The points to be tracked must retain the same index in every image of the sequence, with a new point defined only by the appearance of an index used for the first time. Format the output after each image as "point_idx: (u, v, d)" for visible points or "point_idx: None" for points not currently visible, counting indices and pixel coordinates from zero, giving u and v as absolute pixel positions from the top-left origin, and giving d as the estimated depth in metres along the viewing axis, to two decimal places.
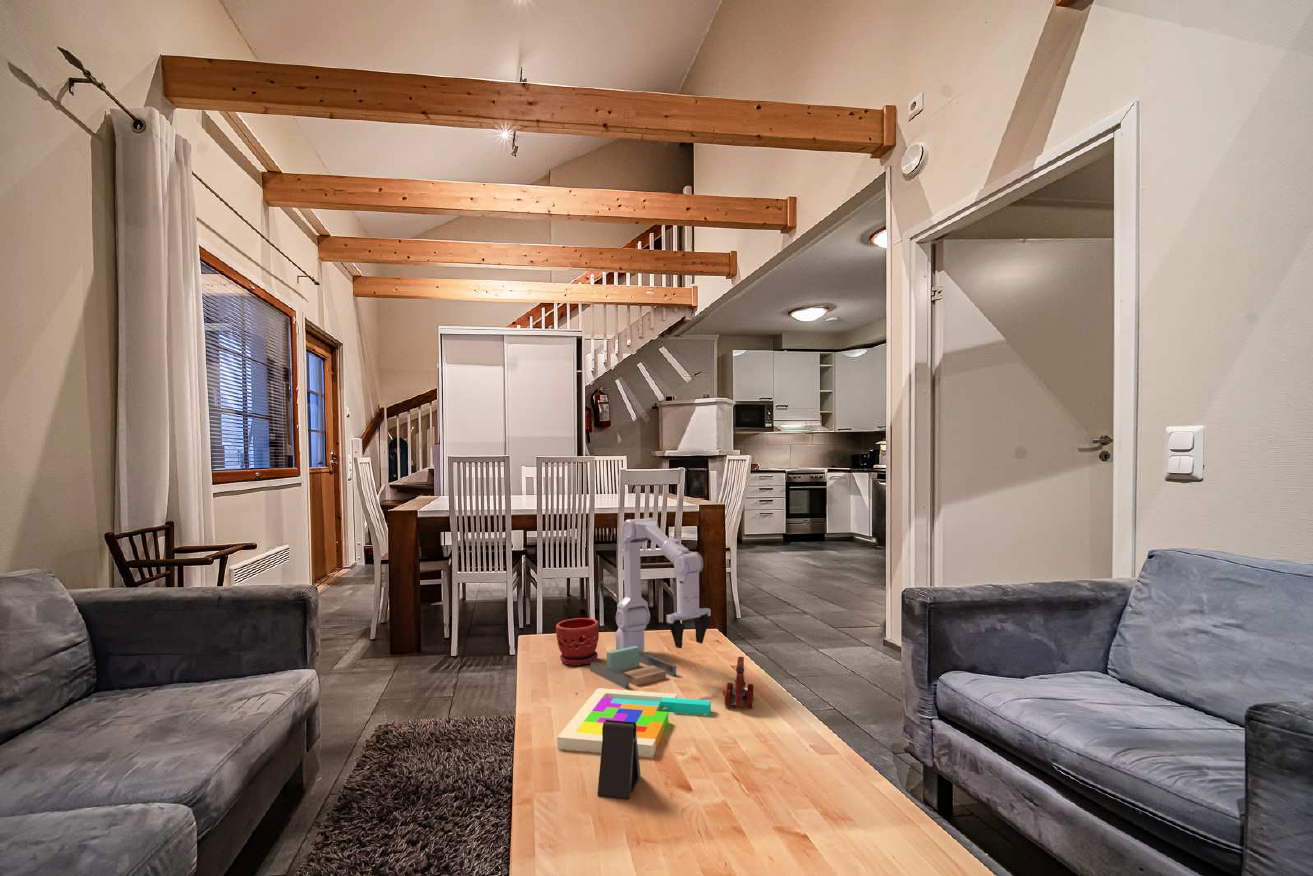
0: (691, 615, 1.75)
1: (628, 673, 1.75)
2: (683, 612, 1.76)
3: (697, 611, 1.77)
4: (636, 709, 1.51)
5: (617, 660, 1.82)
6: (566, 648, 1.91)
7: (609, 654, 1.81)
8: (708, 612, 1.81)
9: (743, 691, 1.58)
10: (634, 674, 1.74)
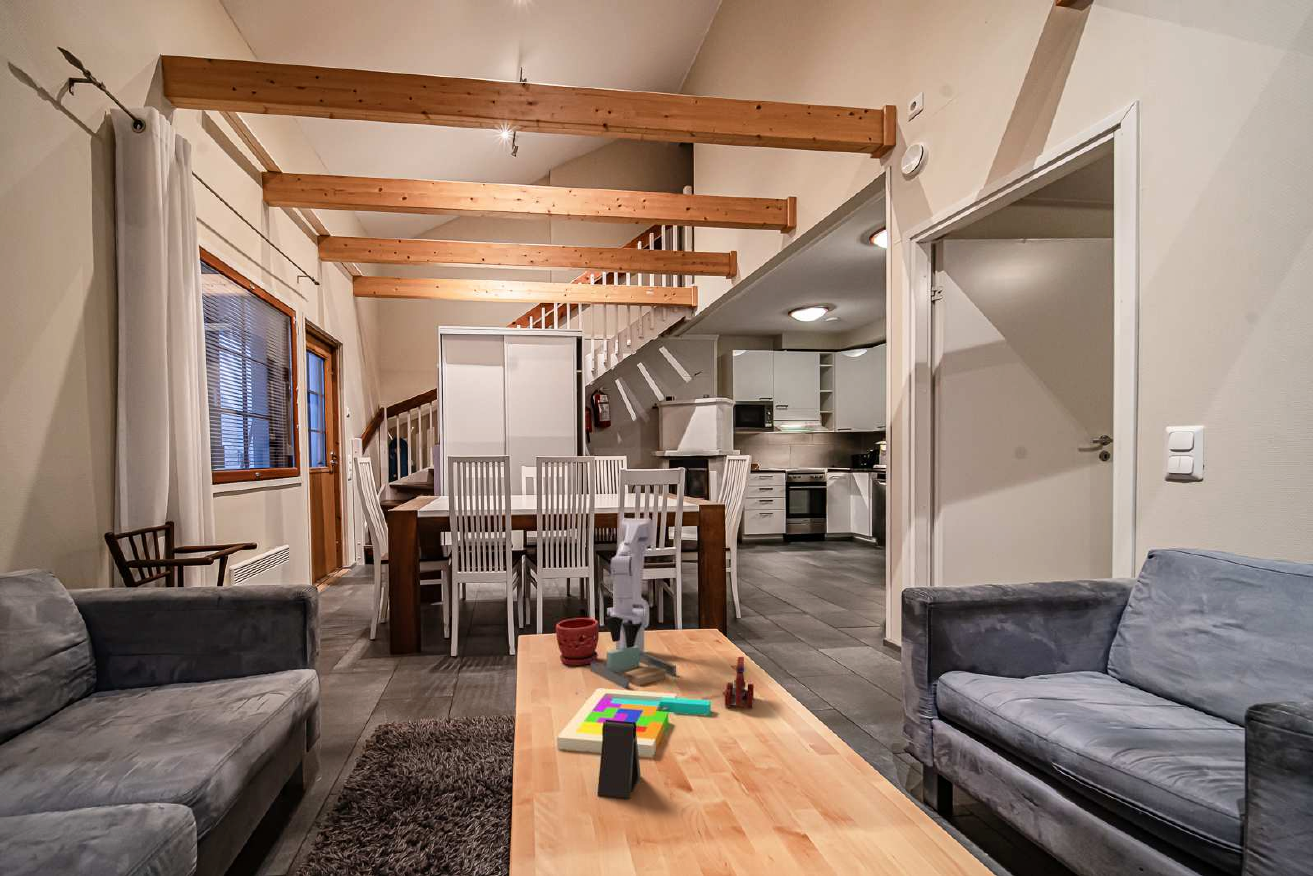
0: None
1: (630, 673, 1.74)
2: None
3: (616, 612, 1.83)
4: (636, 709, 1.51)
5: (617, 660, 1.82)
6: (566, 648, 1.91)
7: (609, 654, 1.81)
8: (632, 620, 1.79)
9: (743, 691, 1.58)
10: (635, 674, 1.74)
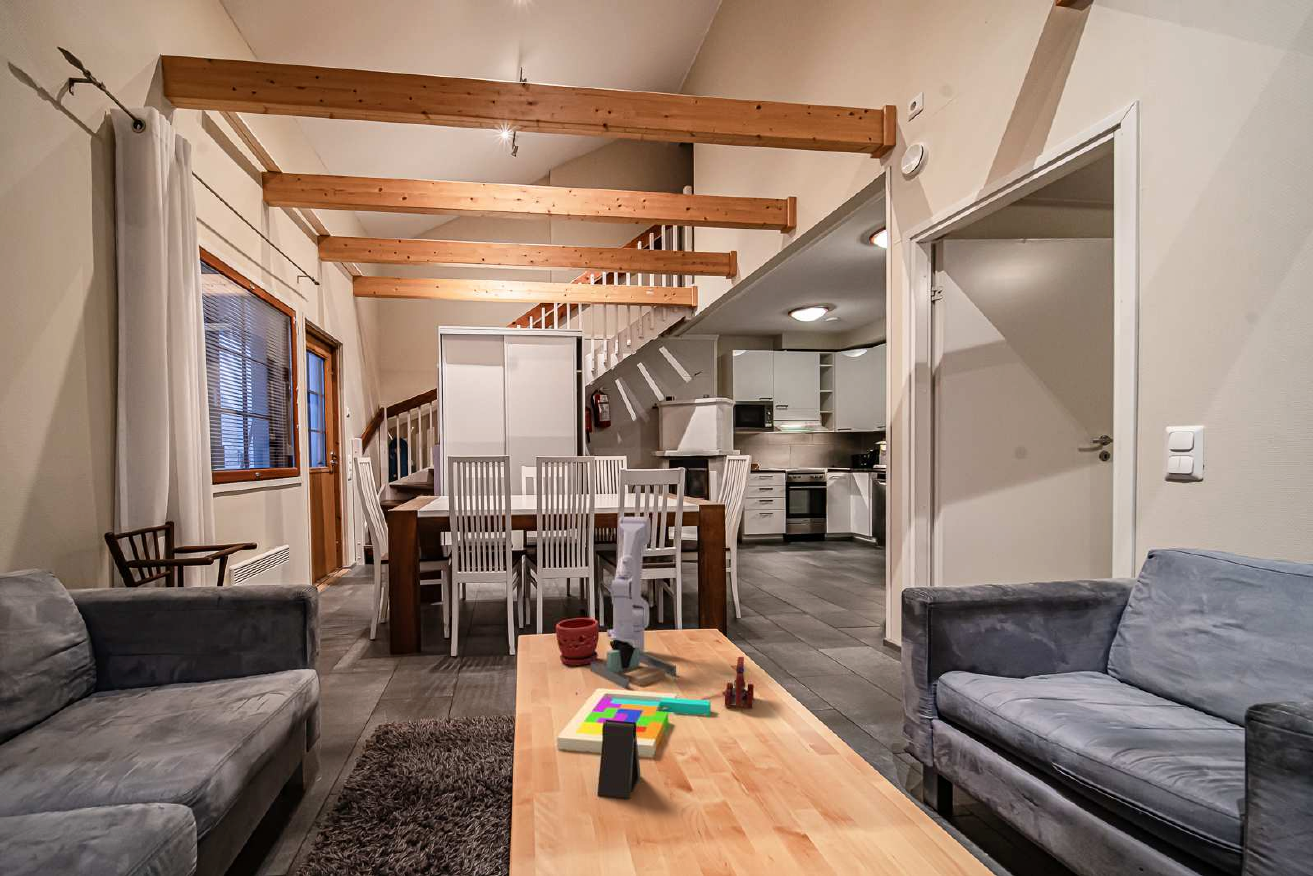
0: None
1: (629, 674, 1.74)
2: None
3: (617, 635, 1.83)
4: (636, 710, 1.51)
5: (617, 660, 1.82)
6: (566, 648, 1.91)
7: (609, 654, 1.81)
8: (632, 643, 1.79)
9: (743, 691, 1.58)
10: (635, 675, 1.73)
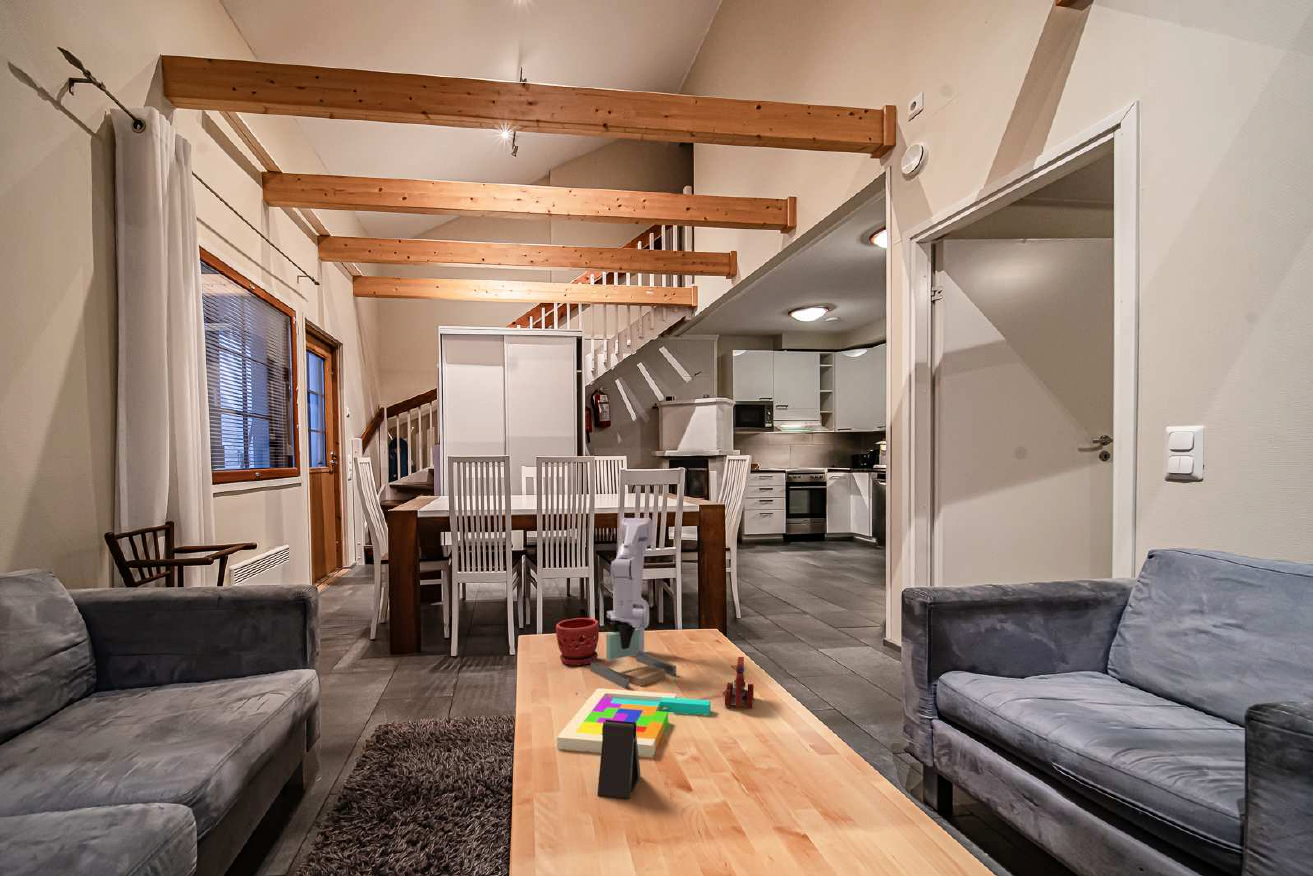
0: None
1: (630, 674, 1.74)
2: None
3: (617, 615, 1.83)
4: (636, 710, 1.51)
5: (617, 642, 1.83)
6: (566, 648, 1.91)
7: (609, 636, 1.82)
8: (632, 623, 1.79)
9: (743, 691, 1.58)
10: (636, 674, 1.73)
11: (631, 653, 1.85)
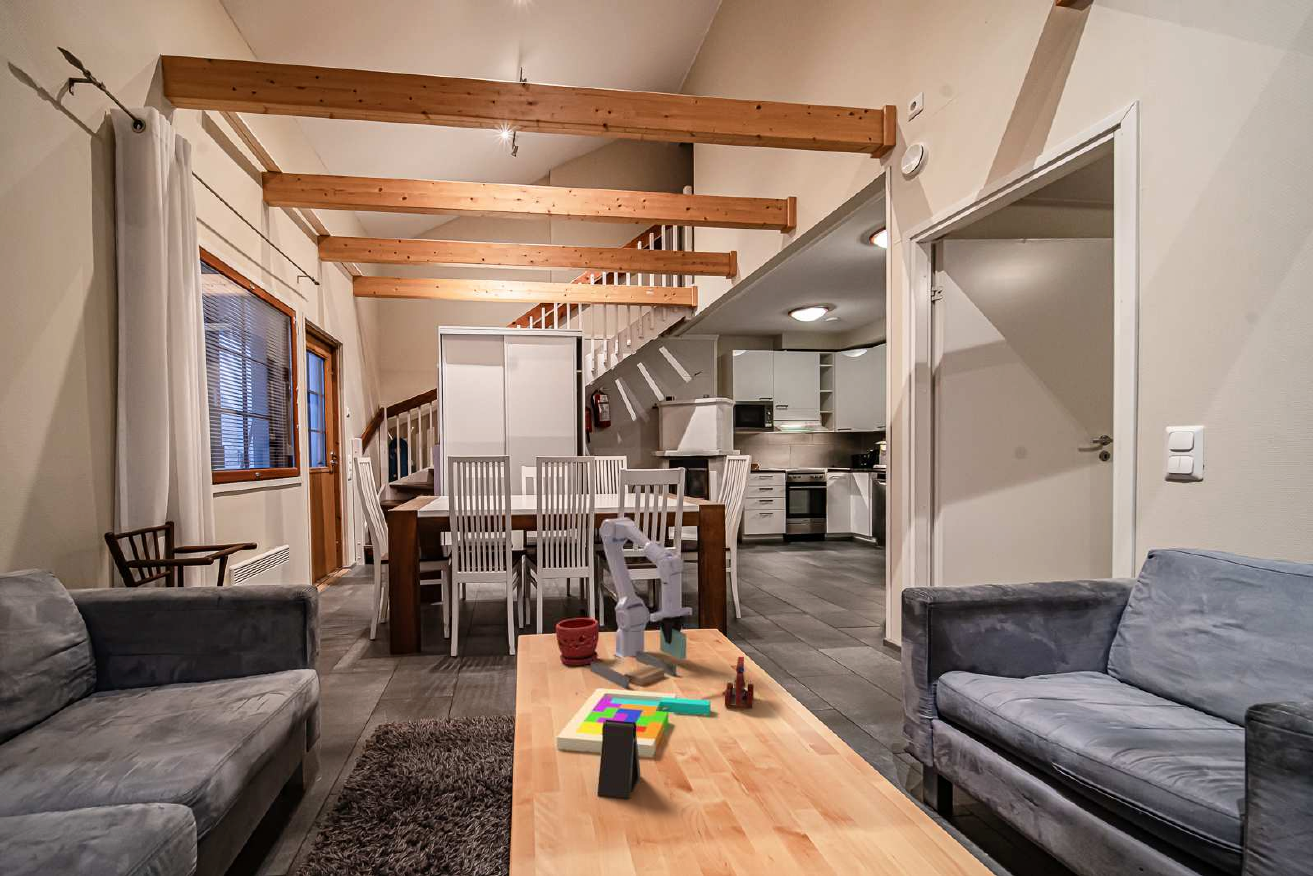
0: (673, 614, 1.87)
1: (629, 674, 1.74)
2: (665, 611, 1.87)
3: (679, 610, 1.88)
4: (636, 709, 1.51)
5: None
6: (566, 648, 1.91)
7: (684, 635, 1.85)
8: (689, 611, 1.92)
9: (743, 691, 1.58)
10: (636, 674, 1.73)
11: None
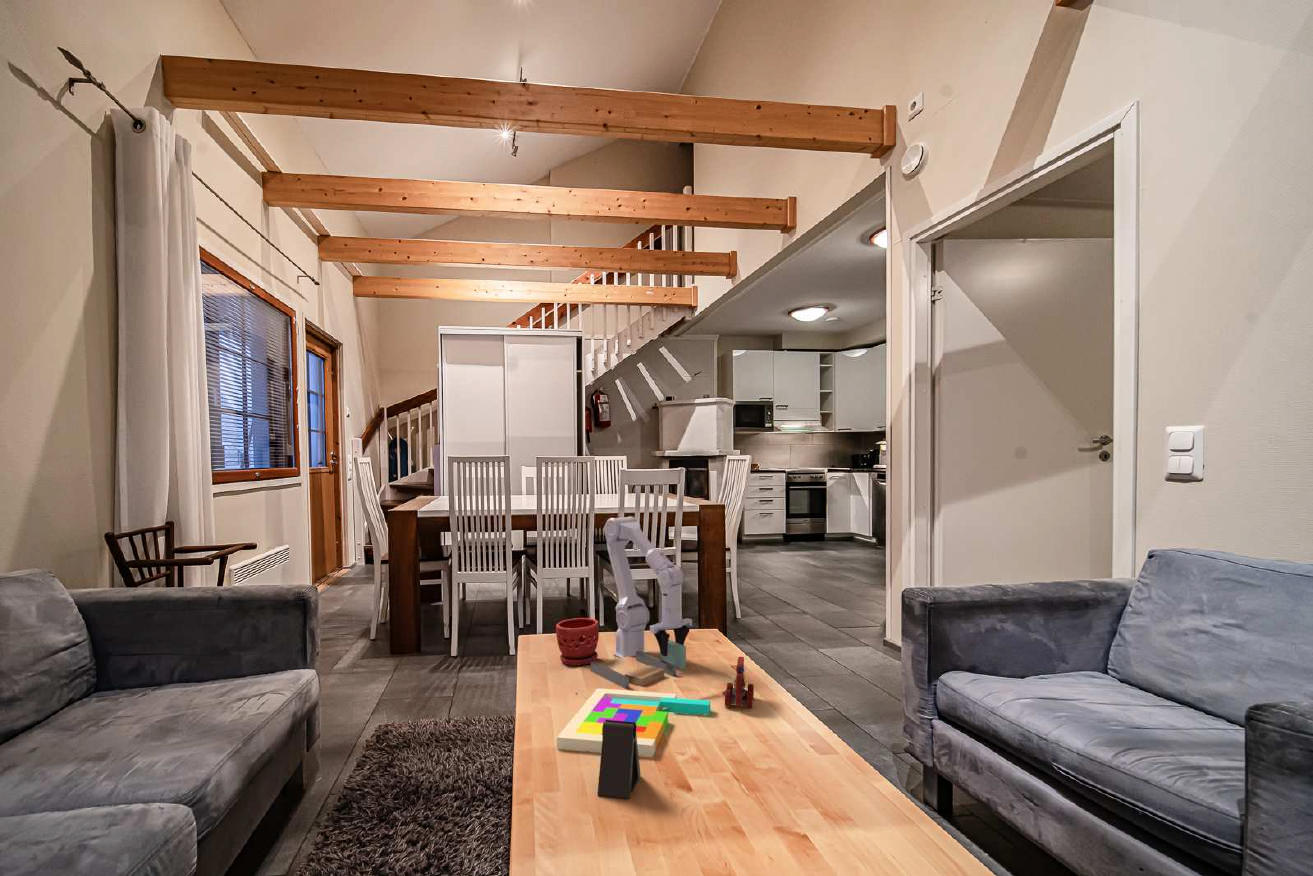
0: (673, 626, 1.86)
1: (630, 674, 1.74)
2: (666, 623, 1.87)
3: (679, 622, 1.88)
4: (636, 710, 1.51)
5: None
6: (566, 648, 1.91)
7: (684, 647, 1.85)
8: (690, 622, 1.92)
9: (743, 691, 1.58)
10: (636, 675, 1.73)
11: None
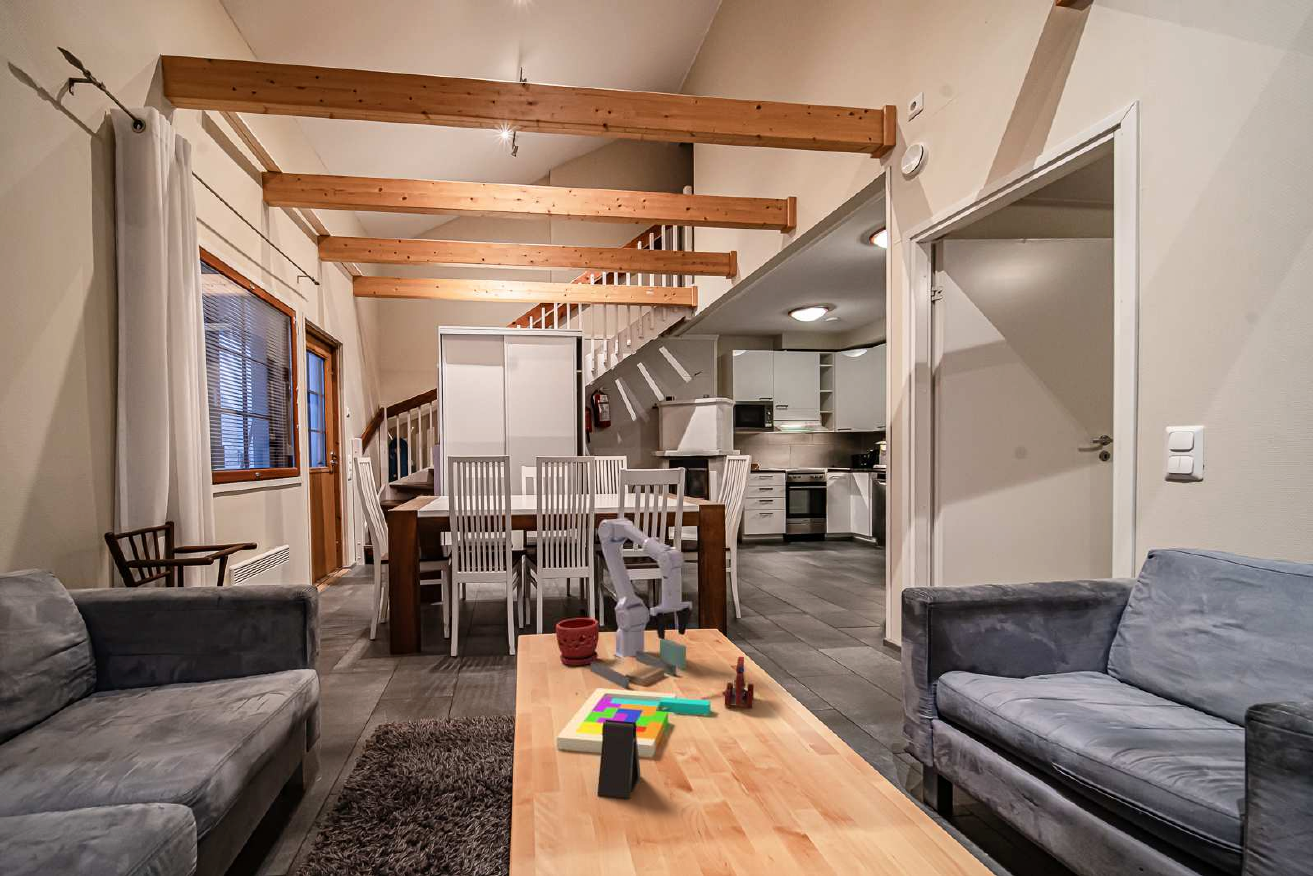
0: (673, 608, 1.87)
1: (631, 674, 1.74)
2: (666, 605, 1.88)
3: (679, 604, 1.88)
4: (636, 709, 1.51)
5: None
6: (566, 648, 1.91)
7: (684, 647, 1.85)
8: (690, 605, 1.93)
9: (743, 691, 1.58)
10: (637, 675, 1.73)
11: None
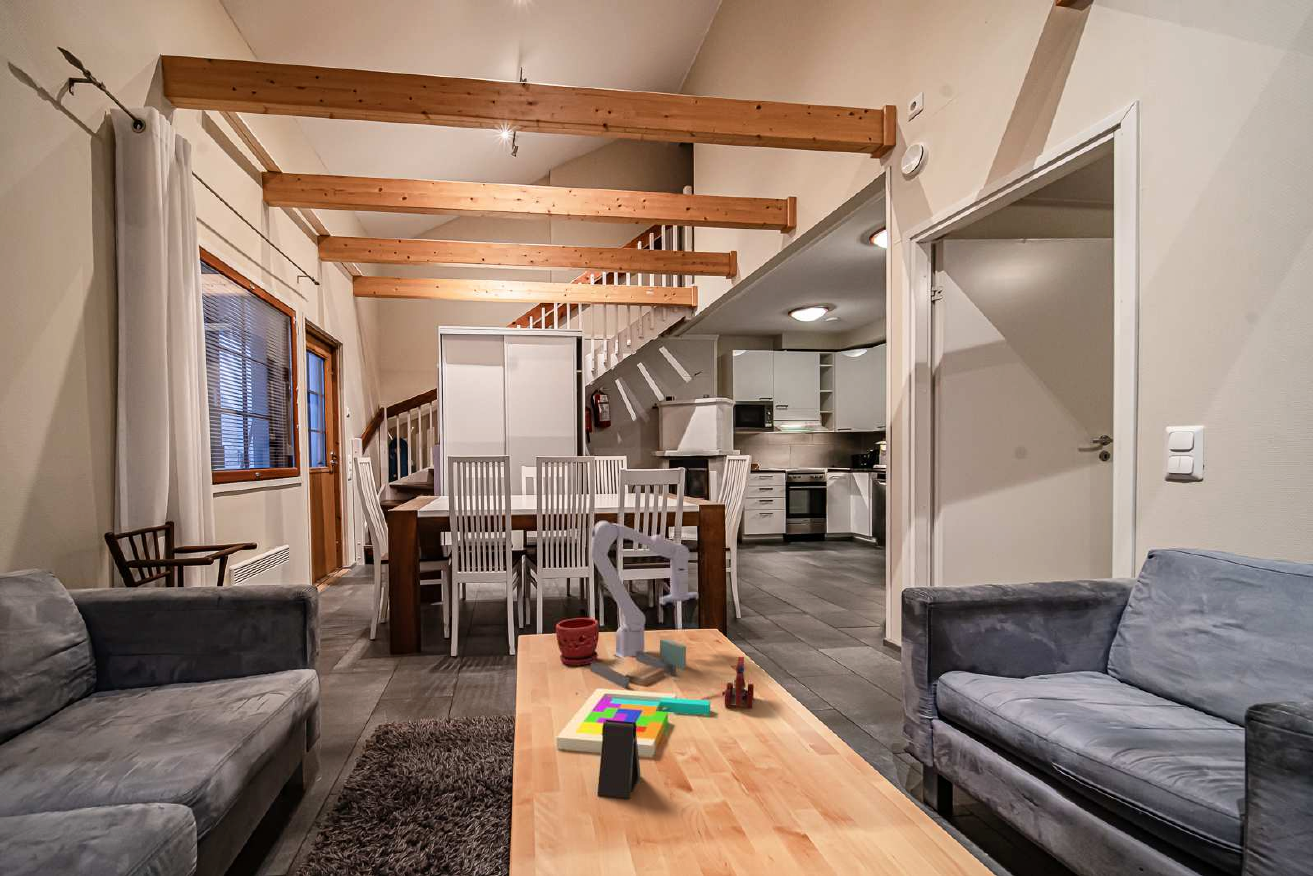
0: (681, 597, 2.01)
1: (631, 674, 1.74)
2: (674, 595, 2.02)
3: (686, 594, 2.03)
4: (636, 710, 1.51)
5: None
6: (566, 648, 1.91)
7: (684, 647, 1.85)
8: (696, 595, 2.07)
9: (743, 691, 1.58)
10: (637, 675, 1.73)
11: None
